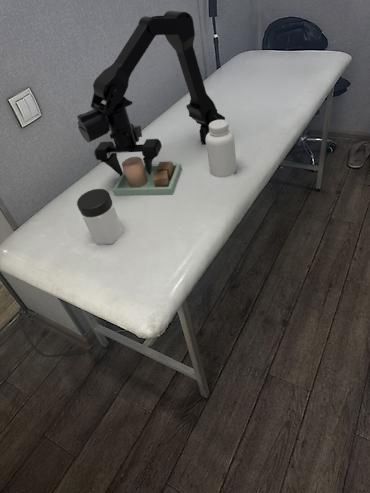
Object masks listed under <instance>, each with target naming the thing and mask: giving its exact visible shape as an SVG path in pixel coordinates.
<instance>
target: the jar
mask: <svg viewBox="0 0 370 493" xmlns="http://www.w3.org/2000/svg"><path fill="white" fill-rule="evenodd" d="M76 206H77V208H78V211H79V212H80V214H81V216H82V219H83V221H84V223H85V225H86V228H87V229H88V231H89V233H90V236H91V238H92V239H93V241H94V244H96V245H113V244H114V243H115V242H116V241H117V239H118V238H120V237H121V236H122V235H123V234H124V233H125V232H124V229H123V227H122V226H123V225H122V223H121V221H120V219H119V216H118V213H117V211H116V208H115V206H114V204H113V199H112V197H111V195H110V193H109V191H108V190H106V189H104V188H94V189H91V190H88V191H86V192H85V193H83V194H81V195H80V197H79V198H78V199H77V201H76Z"/></svg>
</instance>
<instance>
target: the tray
mask: <svg viewBox="0 0 370 493" xmlns="http://www.w3.org/2000/svg"><path fill="white" fill-rule="evenodd" d="M158 164H159V163H157V164H155V163H154V164H153V163H152V168H151V174H150V175H149V174H148V172H147V169H146V166H145V164H143V165H144V169H145V172H146V176H147V179H148V182H147V183H146V184H145V185H144V186H142V187H139V188H131V187H130V186H129V184H128V181H127V178H126V176H125V173H124V170H123V169H122V173H123V174H122V176H120V175H119V177H118V180H117V181H116V183H115V185H114V187H113V189H112V193H113V195H114V196H116V197H118V196H119V197H121V196H124V197H125V196H173V194H174V191H175V189H176V185H177V183H178V180H179V178H180V175H181V172H182V169H183V168H182V164H181V163H179V162H178V163H176V162H175V163H173V167H174V174H173V176H172V179H171V180H170V184H169V187H155V185H154V182H153V173H154V172H157V171H156V169H157V167H158Z"/></svg>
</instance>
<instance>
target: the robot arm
mask: <svg viewBox="0 0 370 493" xmlns="http://www.w3.org/2000/svg"><path fill="white" fill-rule="evenodd" d="M195 35H196V32H195V23H194V19H193V17H192V15H191V13H188V12H187V11H178V10H177V11H176V10H167V11H165V13H164V14H163V15H153V16H152V15H151V16H147V15H144V16H142V17H140V19H139V21H138V25H137V26H136V28H135V29H134V30H133V32H132V34H131V35H130V37H129V39H128V40H127V42H126V43H125V45H124V46H123V48H122V50H121V51H120V52H119V54H118V56H117V57H116V59H115V60H114V62H113V63H112V64H111V65H110V66H109V67H107V68H105V69H104V70H102V72H101V73H100V74H99V75H98V76H97V77H96V79H95V80H94V81H93V84H92V87H93V95H92V99H91V104H90V108H91V110H90V111H87V112H85V113H81V114H79V115H77V116H76V117H77V120H78V121H77V125H78V126H77V127H78V131H79V133H80V134H81V136H82V138H83V139H84V140H85V142H87V143H91V142H93V141H95V140H97V139H99V138H101V137H103V136H105V135H106V134H108V133H109V132H110V134H109V137H110V139H113V142H112V141H111V140H110V141H100V142H99V144H98V145H97V147H96V148H95V150H94V152H93V154H94V157H95V160H97V161H100V162H101V163H104V164H105V165H107V166H109V167H110V168H111V169H112V170H113V171H114V172H115V173H117V174H118V175H119V177H120V176H122V174H123V173H122V172H123V168H122V167H121V164H120V161H119V159H118V156H117V154H126V153H140V152H141V154H142V156H143V158H142V162H143V165H145V166H146V169H147V172H148V174H149V175H150V174H151V168H152V164H153V160H154V159H155V158H156V157H157V158H158V156H159V154H160V152H161V149H162V147H163V146H162V142H161V140H159V138H148V139H147V138H146V139H145V141H144V143H143V144H137V143H138V142H139V141H140V138H142V137H143V133H142V126H141V125H134V124H133V123H131V120H130V117H129V114H128V111H127V107H129V106H132V105H133V101H132V100H129V99H128V98H126V96H125V94H126V92H127V90H128V88H129V82H130V77H131V75H132V73H133V72H134V70H135V68H136V67H137V65H138V64H139V62H140V61H141V60H142V57H143V56H144V55H145V53H146V51H147V50H148V48H149V47H150V45H151V44H152V42H153V41H154V39H155V38H156V36H165V39H166V40H167V42H168V43H169V44H170V46H171V47H172V48H173V49H174V50H175V53H176V56H177V60H178V62H179V65H180V69H181V70H182V71H181V72H182V75H183V78H184V81H185V84H186V86H187V90H188V94H189V96H190V100H189V103H188V104H186V106H185V107H186V109H187V110H188V117H190V118H191V119H192V120H194V121H195V122H196V124H198V125H200V127H199V131H198V133H199V137H200V138H199V139H200V142H201V145H203V146H206V140H205V139H206V135H207V134H208V133H209V124H210V123H211V122H212V121H215V120H226V116H223V115H222V114H220V113H219V112H218V109H217V107H216V104H215V103H214V101H213V100H212V99H211V97H210V96H209V95H208V94H207V90H206V87H205V84H204V80H203V76H202V73H201V72H202V71H201V70H200V66H199V62H198V59H197V55H196V52H195V48H194V41H195ZM103 102H105V103H103Z"/></svg>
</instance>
